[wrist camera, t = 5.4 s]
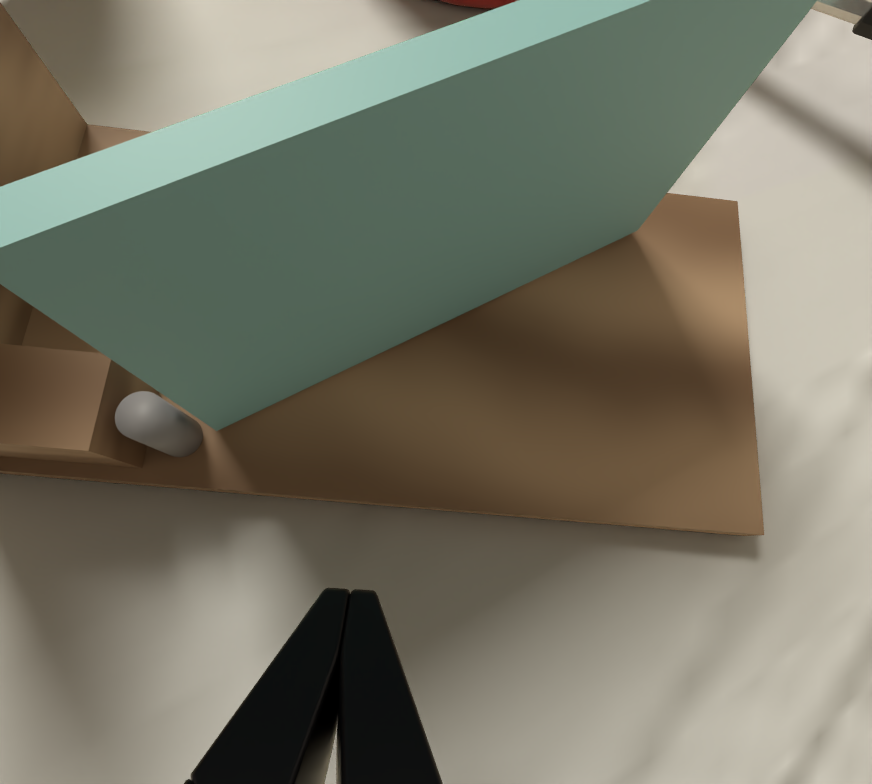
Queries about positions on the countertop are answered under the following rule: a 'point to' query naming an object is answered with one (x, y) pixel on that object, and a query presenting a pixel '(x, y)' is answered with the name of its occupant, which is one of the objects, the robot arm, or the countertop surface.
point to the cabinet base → (436, 380)
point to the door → (374, 197)
